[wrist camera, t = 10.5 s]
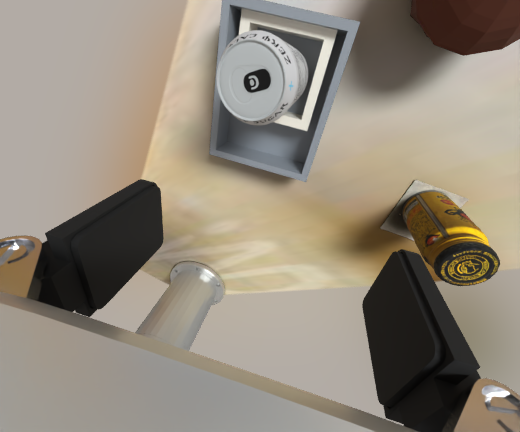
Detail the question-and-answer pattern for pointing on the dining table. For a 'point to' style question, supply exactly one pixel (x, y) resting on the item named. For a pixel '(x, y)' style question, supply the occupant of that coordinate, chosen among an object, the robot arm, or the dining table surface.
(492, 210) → the dining table surface
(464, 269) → the condiment
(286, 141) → the walled box
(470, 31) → the muffin
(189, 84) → the dining table surface
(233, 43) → the energy drink can
